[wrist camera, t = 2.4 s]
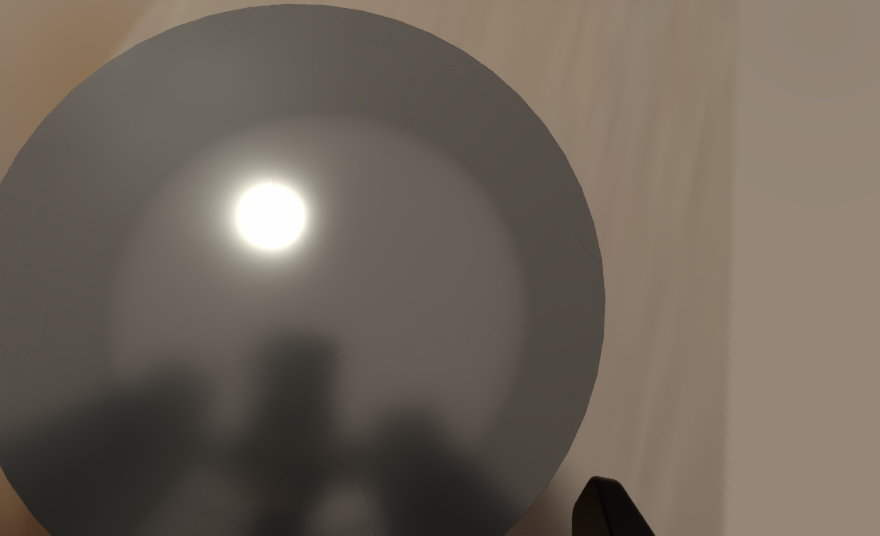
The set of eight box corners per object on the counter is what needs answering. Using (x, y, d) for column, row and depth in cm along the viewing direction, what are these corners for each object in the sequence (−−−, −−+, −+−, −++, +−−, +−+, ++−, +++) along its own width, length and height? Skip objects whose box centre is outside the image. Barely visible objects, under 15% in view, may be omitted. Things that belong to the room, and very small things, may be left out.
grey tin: (407, 473, 18) (460, 744, 5) (232, 393, 17) (-181, 452, 5) (482, 300, 19) (684, 151, 6) (319, 225, 19) (175, -86, 6)
